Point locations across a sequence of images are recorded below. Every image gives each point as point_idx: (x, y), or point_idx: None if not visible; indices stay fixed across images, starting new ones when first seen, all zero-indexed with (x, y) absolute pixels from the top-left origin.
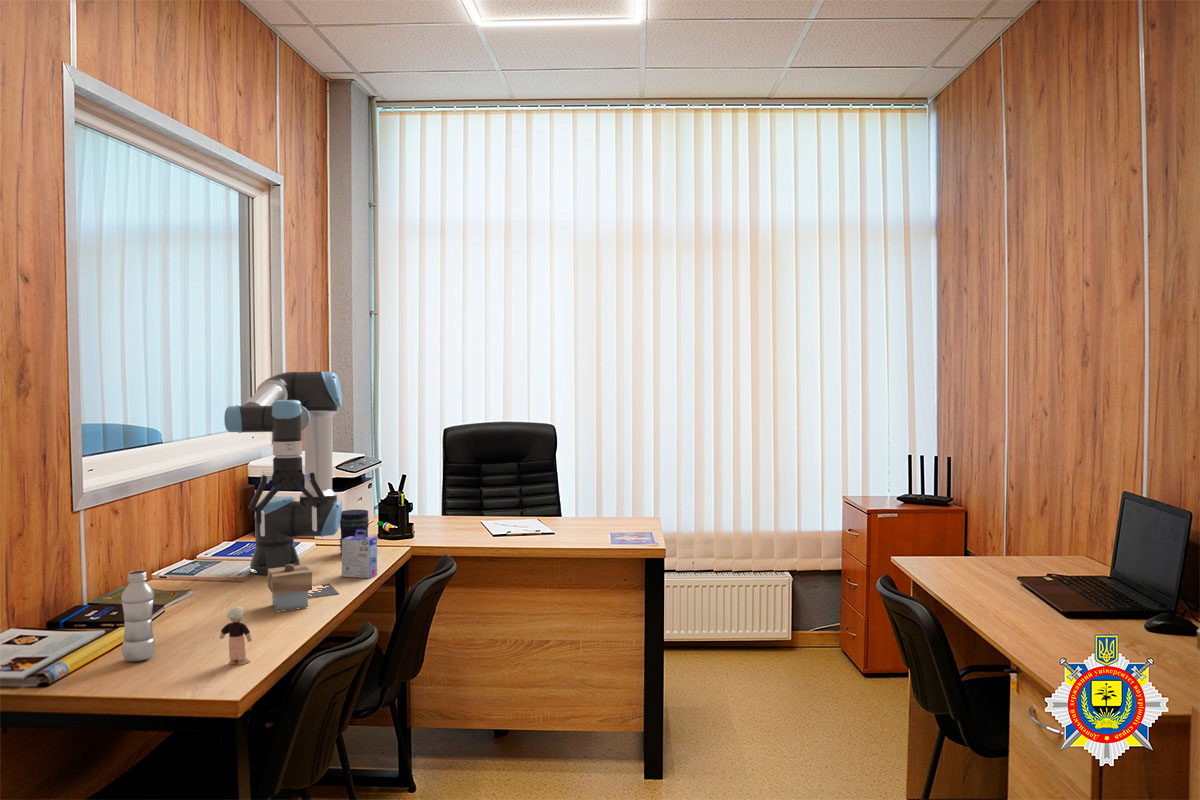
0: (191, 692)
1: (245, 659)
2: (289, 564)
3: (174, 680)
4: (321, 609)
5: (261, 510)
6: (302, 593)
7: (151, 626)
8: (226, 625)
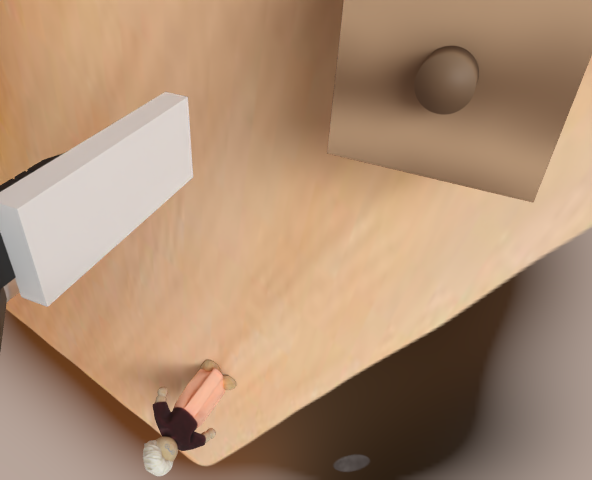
0: (150, 413)
1: (225, 389)
2: (451, 70)
3: (124, 362)
4: (557, 162)
5: (3, 309)
6: None
7: (18, 288)
8: (156, 422)
